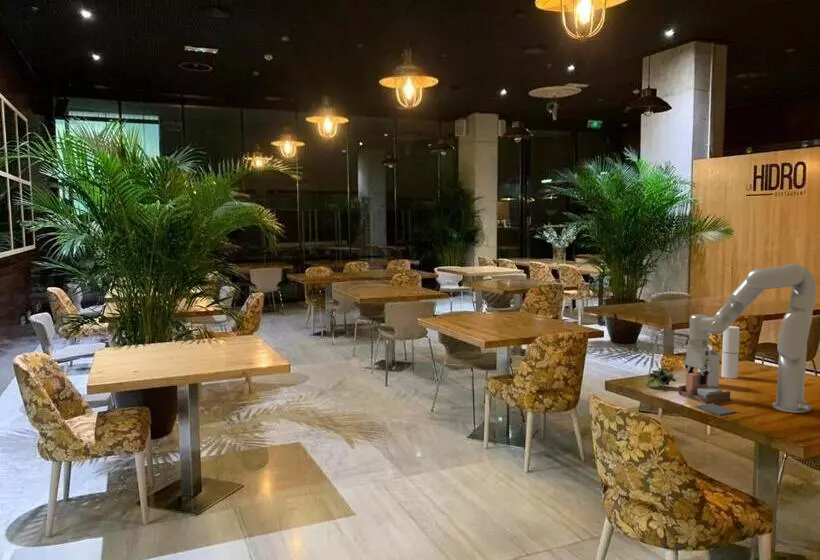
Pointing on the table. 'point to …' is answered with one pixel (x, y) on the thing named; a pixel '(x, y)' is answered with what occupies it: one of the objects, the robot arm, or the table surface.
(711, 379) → the milk carton
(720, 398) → the rack
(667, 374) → the passion flower
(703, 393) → the offcut upper
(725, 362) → the cylindrical container
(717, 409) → the slate mat
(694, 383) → the pink rectangular block
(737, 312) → the robot arm
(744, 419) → the table surface
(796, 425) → the table surface
